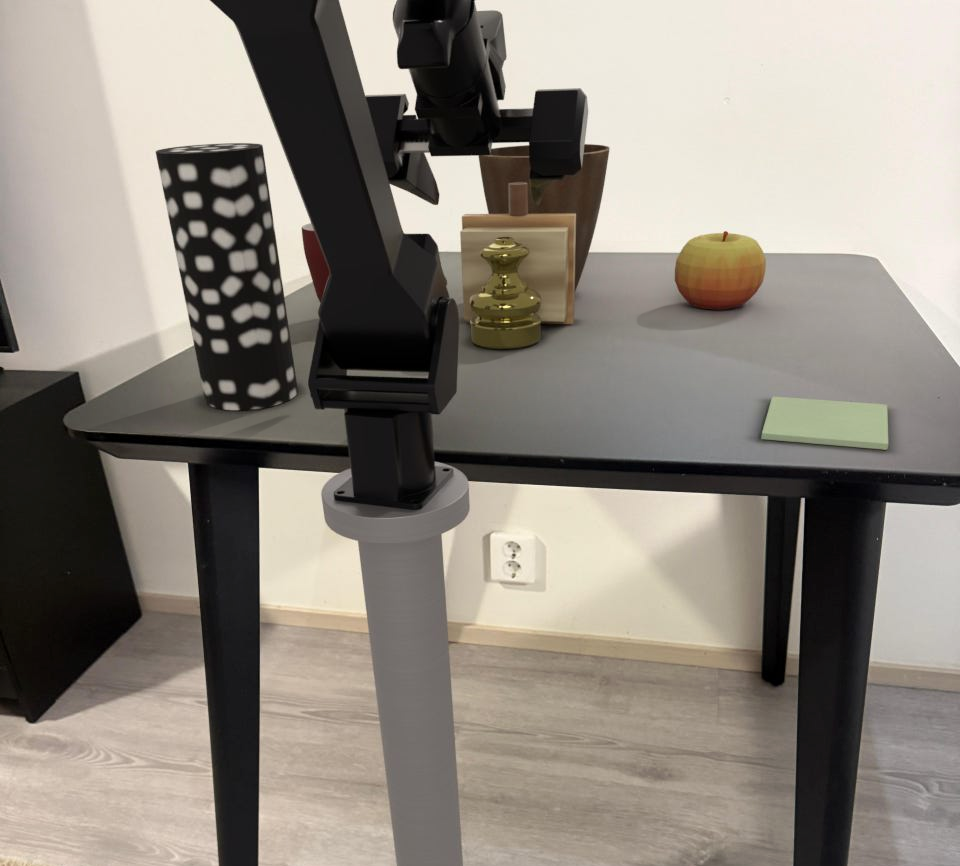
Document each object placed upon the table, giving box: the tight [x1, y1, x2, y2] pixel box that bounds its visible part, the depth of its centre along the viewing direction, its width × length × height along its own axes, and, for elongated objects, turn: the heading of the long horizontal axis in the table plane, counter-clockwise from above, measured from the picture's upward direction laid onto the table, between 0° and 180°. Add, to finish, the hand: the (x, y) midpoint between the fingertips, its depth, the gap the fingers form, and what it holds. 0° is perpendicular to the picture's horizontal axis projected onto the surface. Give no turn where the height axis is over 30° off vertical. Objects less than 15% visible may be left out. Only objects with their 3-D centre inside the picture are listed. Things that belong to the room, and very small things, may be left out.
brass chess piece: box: [469, 237, 542, 350], centre depth 94 cm, size 7×8×10 cm
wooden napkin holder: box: [459, 182, 576, 325], centre depth 98 cm, size 5×12×14 cm, turn 77°
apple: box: [674, 230, 767, 311], centre depth 104 cm, size 10×10×8 cm
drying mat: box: [760, 396, 889, 451], centre depth 73 cm, size 9×9×1 cm
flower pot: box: [478, 143, 611, 292], centre depth 109 cm, size 15×15×16 cm
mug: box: [301, 222, 330, 304], centre depth 104 cm, size 11×8×10 cm
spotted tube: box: [155, 142, 299, 411], centre depth 79 cm, size 8×8×20 cm
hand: (486, 199), depth 82 cm, fingers open, 9 cm apart
